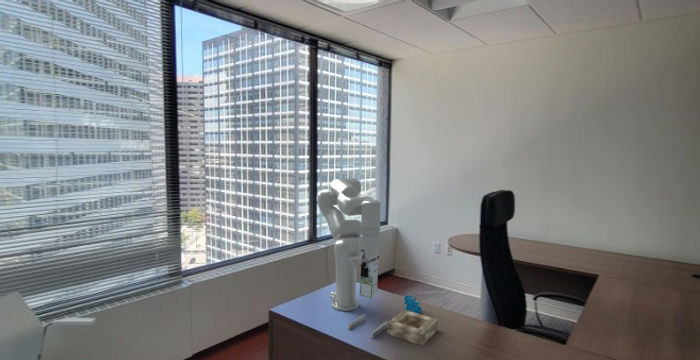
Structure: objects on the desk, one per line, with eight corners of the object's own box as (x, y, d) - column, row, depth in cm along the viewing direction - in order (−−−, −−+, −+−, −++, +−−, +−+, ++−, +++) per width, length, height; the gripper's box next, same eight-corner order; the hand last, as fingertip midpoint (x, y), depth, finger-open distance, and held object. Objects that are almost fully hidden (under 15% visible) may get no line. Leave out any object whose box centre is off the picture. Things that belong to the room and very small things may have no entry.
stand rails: (347, 329, 151) (347, 324, 151) (363, 318, 161) (363, 314, 161) (372, 338, 144) (373, 333, 144) (388, 326, 154) (388, 321, 154)
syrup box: (377, 293, 153) (378, 259, 152) (371, 298, 148) (373, 263, 146) (364, 290, 156) (366, 256, 154) (358, 295, 150) (360, 260, 149)
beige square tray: (386, 333, 148) (387, 322, 148) (404, 319, 160) (404, 309, 160) (422, 345, 139) (422, 334, 139) (437, 330, 152) (437, 319, 151)
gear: (414, 316, 160) (402, 295, 165) (404, 323, 163) (393, 302, 168) (427, 312, 168) (415, 292, 173) (418, 318, 171) (407, 298, 176)
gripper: (373, 225, 158) (372, 266, 160) (350, 233, 144) (349, 278, 146) (389, 228, 154) (387, 270, 156) (366, 236, 140) (365, 283, 142)
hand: (368, 274), depth 151 cm, fingers closed on syrup box, 6 cm apart
